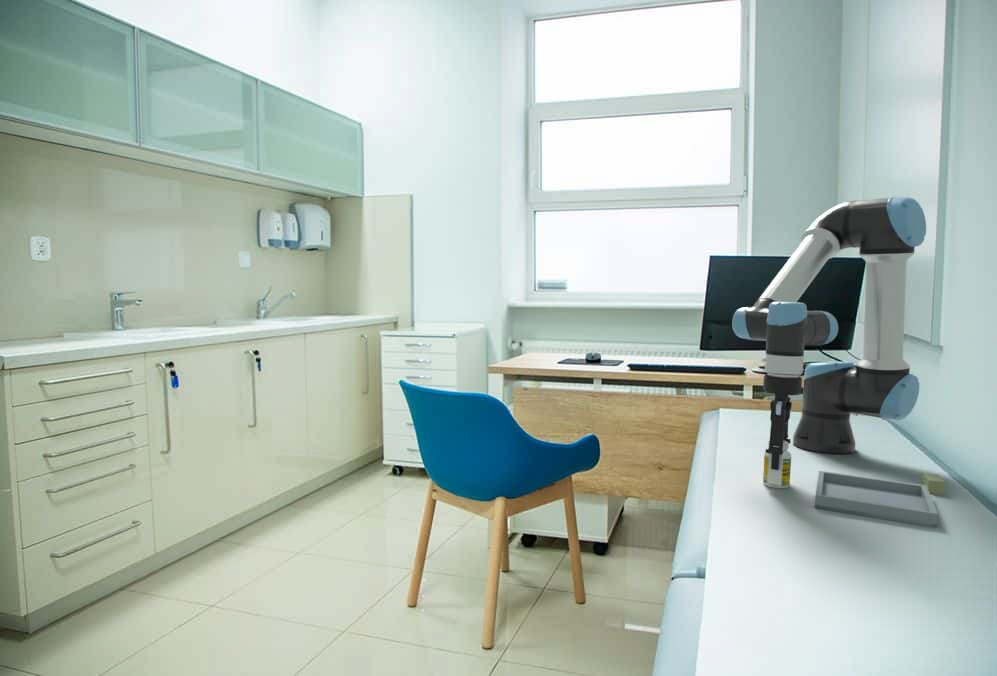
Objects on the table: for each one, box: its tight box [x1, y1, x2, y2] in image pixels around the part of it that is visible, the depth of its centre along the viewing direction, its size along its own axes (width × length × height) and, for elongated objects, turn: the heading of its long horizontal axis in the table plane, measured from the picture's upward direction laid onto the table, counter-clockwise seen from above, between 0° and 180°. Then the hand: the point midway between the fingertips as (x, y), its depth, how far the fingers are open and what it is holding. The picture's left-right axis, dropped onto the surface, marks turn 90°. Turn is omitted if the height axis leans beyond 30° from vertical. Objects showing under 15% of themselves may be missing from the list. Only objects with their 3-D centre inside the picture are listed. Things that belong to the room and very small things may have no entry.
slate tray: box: [814, 470, 939, 528], centre depth 135 cm, size 20×20×2 cm
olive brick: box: [921, 472, 946, 495], centre depth 144 cm, size 6×3×3 cm, turn 158°
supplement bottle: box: [762, 439, 792, 490], centre depth 144 cm, size 5×5×10 cm
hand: (776, 478), depth 144 cm, fingers open, 9 cm apart
